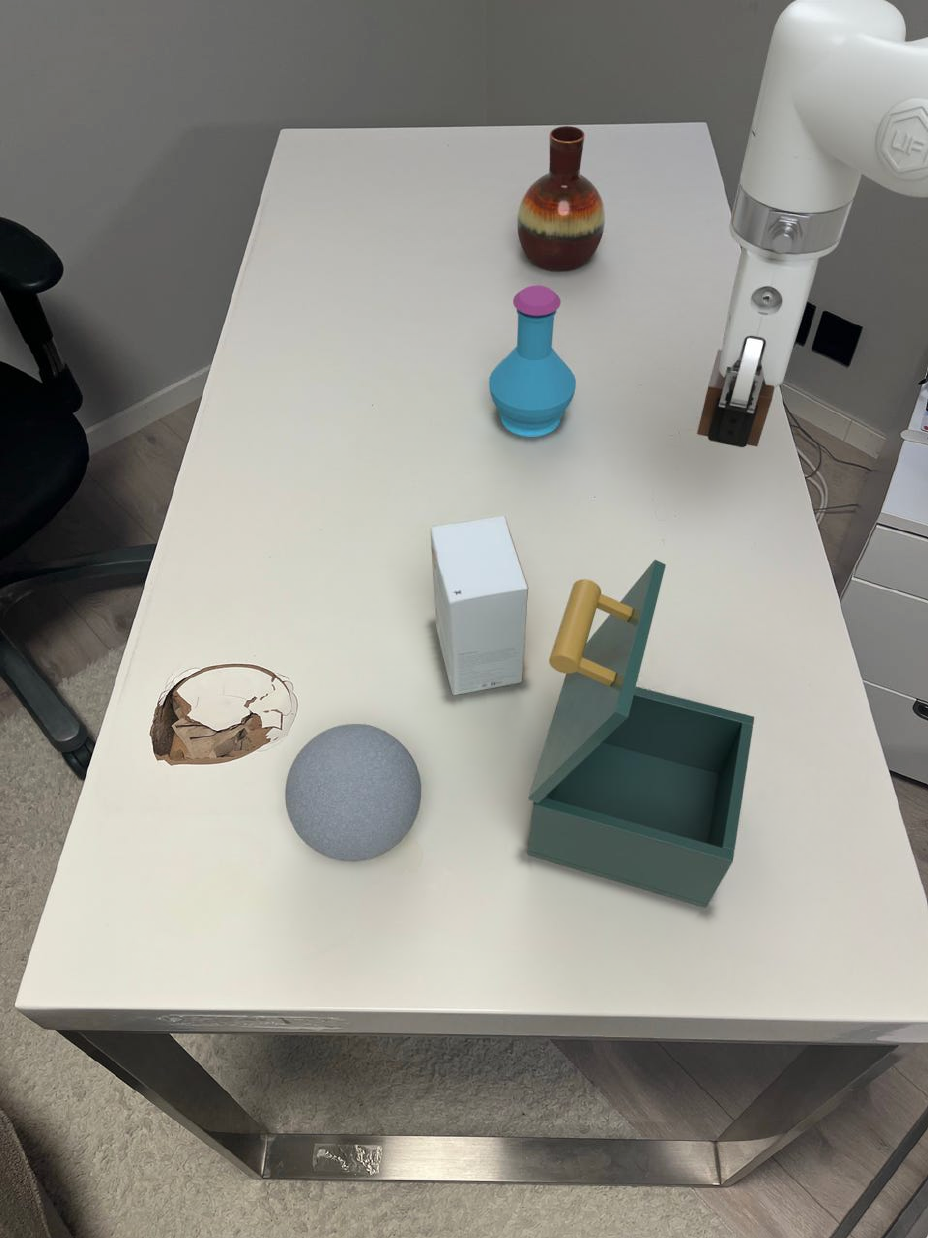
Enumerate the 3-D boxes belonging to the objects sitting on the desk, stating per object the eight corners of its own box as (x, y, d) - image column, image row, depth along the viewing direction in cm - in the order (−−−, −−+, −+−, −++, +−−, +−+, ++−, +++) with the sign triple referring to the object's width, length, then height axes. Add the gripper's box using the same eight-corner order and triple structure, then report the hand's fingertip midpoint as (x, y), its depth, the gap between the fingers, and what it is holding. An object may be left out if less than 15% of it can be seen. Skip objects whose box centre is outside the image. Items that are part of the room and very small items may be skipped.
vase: (498, 253, 119) (500, 132, 106) (558, 223, 123) (567, 103, 111) (558, 289, 114) (567, 166, 101) (618, 256, 118) (634, 134, 106)
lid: (666, 564, 56) (597, 532, 56) (628, 717, 50) (549, 682, 49) (578, 669, 68) (520, 643, 68) (538, 804, 61) (474, 775, 61)
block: (765, 408, 77) (780, 360, 73) (757, 446, 74) (772, 398, 70) (706, 397, 78) (718, 349, 74) (696, 434, 75) (708, 386, 71)
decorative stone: (447, 841, 69) (443, 782, 61) (330, 906, 67) (309, 853, 59) (388, 743, 75) (377, 677, 67) (277, 799, 72) (251, 737, 64)
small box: (523, 684, 78) (530, 589, 68) (452, 697, 77) (447, 603, 67) (502, 611, 83) (505, 513, 72) (434, 623, 82) (427, 525, 72)
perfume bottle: (568, 388, 102) (580, 267, 90) (576, 444, 96) (589, 322, 84) (487, 390, 102) (488, 269, 90) (490, 446, 96) (491, 325, 84)
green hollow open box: (728, 772, 73) (754, 716, 66) (706, 908, 66) (732, 862, 59) (564, 728, 75) (573, 670, 68) (527, 855, 69) (532, 804, 62)
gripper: (835, 289, 56) (763, 498, 70) (855, 160, 66) (789, 367, 80) (713, 269, 57) (668, 477, 72) (751, 147, 67) (704, 352, 82)
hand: (732, 417), depth 76 cm, fingers closed on block, 5 cm apart
